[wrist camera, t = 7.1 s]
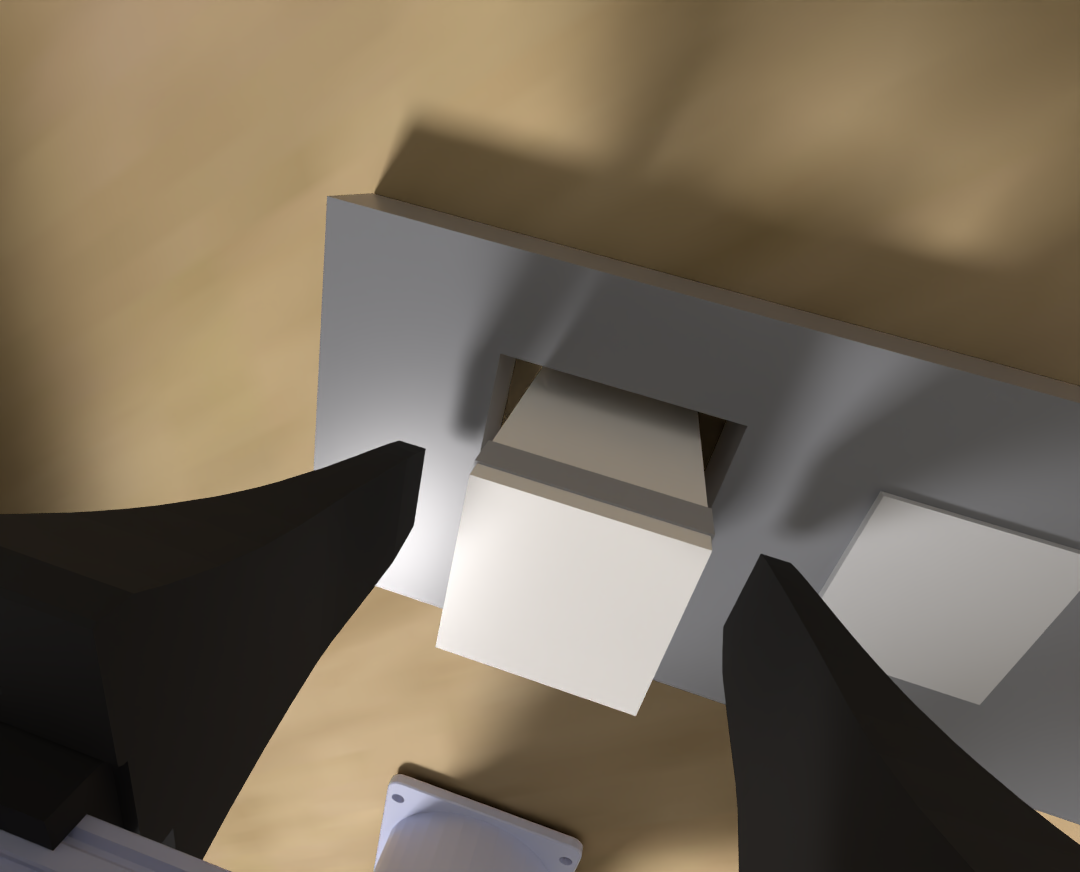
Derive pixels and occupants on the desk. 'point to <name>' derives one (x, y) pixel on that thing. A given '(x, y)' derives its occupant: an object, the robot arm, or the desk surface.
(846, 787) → the robot arm
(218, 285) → the desk surface
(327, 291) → the grey slab
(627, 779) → the desk surface
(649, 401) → the block
